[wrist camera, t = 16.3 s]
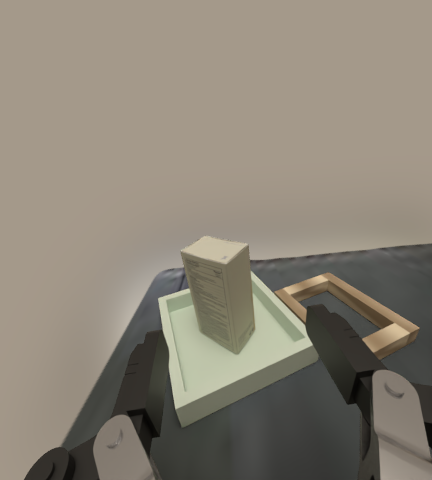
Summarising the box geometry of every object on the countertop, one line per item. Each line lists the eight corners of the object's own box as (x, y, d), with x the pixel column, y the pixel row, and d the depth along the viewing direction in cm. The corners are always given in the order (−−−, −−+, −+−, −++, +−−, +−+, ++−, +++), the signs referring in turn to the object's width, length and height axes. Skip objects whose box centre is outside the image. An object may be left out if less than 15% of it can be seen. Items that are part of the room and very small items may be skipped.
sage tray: (250, 284, 35) (249, 269, 34) (317, 360, 22) (320, 341, 21) (162, 313, 31) (158, 298, 30) (182, 428, 18) (175, 409, 17)
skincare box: (256, 329, 26) (252, 243, 21) (237, 357, 23) (227, 264, 18) (217, 310, 30) (206, 233, 24) (196, 332, 26) (178, 249, 21)
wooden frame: (326, 282, 33) (328, 272, 32) (414, 340, 23) (419, 327, 22) (274, 302, 31) (274, 291, 30) (345, 378, 20) (349, 365, 19)
